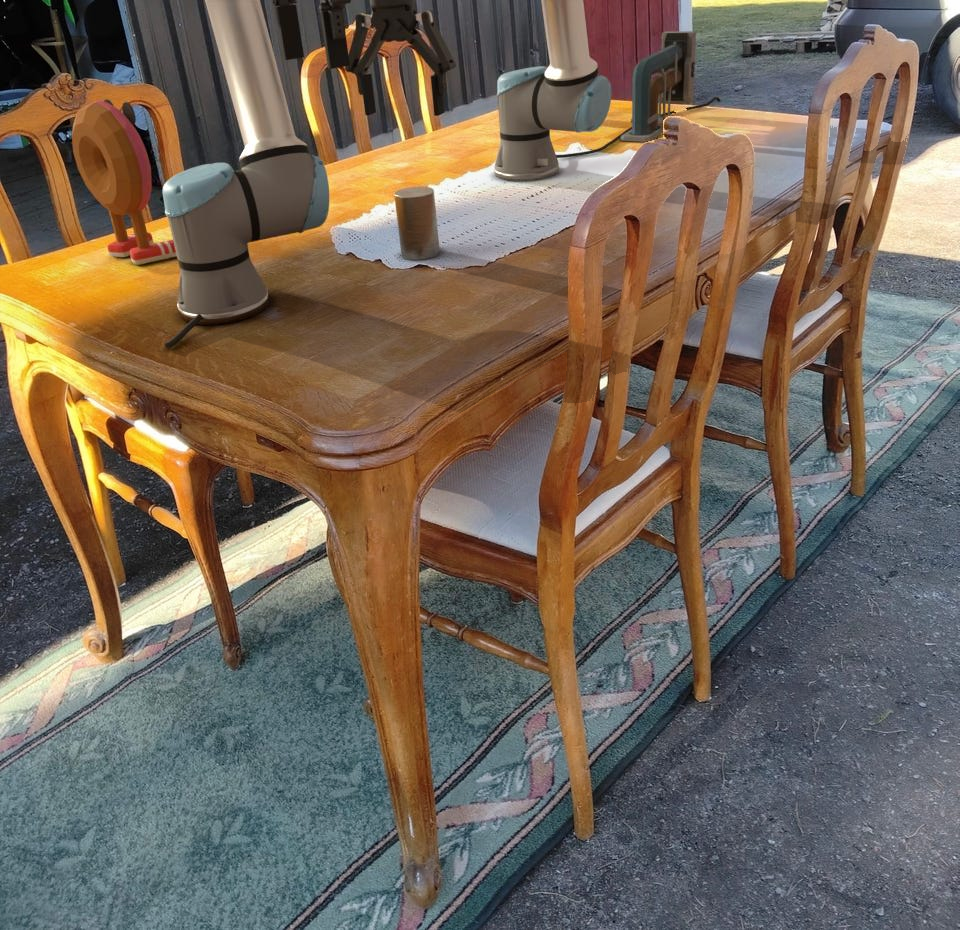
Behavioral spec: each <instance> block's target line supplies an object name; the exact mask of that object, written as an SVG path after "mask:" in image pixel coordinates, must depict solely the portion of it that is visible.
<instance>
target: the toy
mask: <svg viewBox="0 0 960 930" xmlns="http://www.w3.org/2000/svg"><path fill="white" fill-rule="evenodd" d="M121 109H122V111H121V110H120V109H118V108H117V107H115V106H114V104H113V103H112V101H111V100H110V99H108V98H106V99H104V100H100V99H97V100H95V101H93V102H91V103H88V104H86V105H85V106H83V107H81V108H80V109H78V110H77V111H76V114H75V116H74V117H75V118H74V120H73V124H72V130H71V140H72V142H71V143H72V152H73V156H74V160H75V163H76V167H77V170H78V172H79V174H80V176H81V178H82V181H83V182H84V184H85V186H86V188H87V189H88V191H89V192H90V193H91V195H92V196H93V197H94V198H95V199H96V201H97V202H99V203H100V205H101V206H102V207H103V208H105V209H107V211H108V214H109V217H110V221H111V225H112V228H113V233H114V236H115V239H116V240H114V241H112V242H110V243H108V245H107V251H108V255H109V256H110V257H113V258H127V257H129V256H130V260H131V262H132V263H133V264H135V266H137V265H144V264H150V263H154V262H159V261H162V260H163V261H164V260H167V259H172V258H177V254H176V250H175V246H174V241H173V239H170V240H165V241H160V242H156V243H154V237H153V235H152V233H151V232H148V231H147V226H146V225H147V224H146V222H145V218H144V214H143V212H142V211H143V210H144V209H145V208H146V206H147V205H148V203H149V201H150V198H151V194H152V189H153V188H152V168H151V163H150V159H149V155H148V152H147V150H146V146H145V144H144V142H143V140H142V137H141V136H140V134H139V132H138V131H137V129H136V127H135V126H134V125H135V124H136V120H137V119H136V113H135V110H134V108H133V106H132V104H131V103H130V102H128V101H125V102H123V103H122V107H121ZM127 215H128V216H129V218H130V221H131V226H132V230H133V232H132V233H130V234H128V232H127V227H126V223H125V218H124V216H127Z"/></svg>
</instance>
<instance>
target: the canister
mask: <svg viewBox="0 0 960 930" xmlns="http://www.w3.org/2000/svg"><path fill="white" fill-rule="evenodd" d="M393 196H394V204H395V212H396V222H397V229H398V238H399V247H400V253H401V254H400V255H401V257H402V258H403V259H405V260H408V261H422V260H423V261H424V260H428V259H433V258H435V257H437V256H438V255H440V253H441V250H440V239H439V229H438V218H437V208H436V198H435V190H434V188H432V187H429V186H421V185H420V186H409V187H404V188H400V189H398V190H396V191H394V193H393Z"/></svg>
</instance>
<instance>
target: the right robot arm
mask: <svg viewBox="0 0 960 930" xmlns="http://www.w3.org/2000/svg"><path fill="white" fill-rule="evenodd" d="M540 3H541V10H542V17H543V22H544V30H545V31H544V32H545V37H546V44H547V45H546V46H547V52H548V59H549V65H548V66H545V65H540V66H539V65H538V66H531V67H526V68H525V67H524V68H520V69H516V70H512V71H508V72H505V73H503V74H501V75H500V76H499V77H498V79H497V86H496V87H497V88H496V89H497V91H496V92H497V93H496V97H497V108H498V123H499V136H500V139H499V140H500V141H499V146H498V151H497V153H496V158H495V163H494V176H495V177H496V178H498V179H500V180H504V181H513V182H527V181H537V180H542V179H547V178H550V177H553V176H555V175H556V174H558V173H559V171H560V163H559V159H564V158H565V159H566V158H573V157H580V156H586V155H591V154H595V153H598V152H602V151H604V150H606V149H607V148H608V147H610V146H611V145H613V144H614V143H616V142H617V141H618V140H620V138H621V136H622V135H623V134H625V133H626V132H628V131H630V130H631V129H632V126H630V127H628V128H627V129H626V130H624V131H623V132H622V133H620V134H619V135H618V136H615V137H614V138H613V139H612V140H610V141H609V142H607V143H605V144H604V145H603V146H601V147H599V148H596V149H592V150H585V151H580V152H573V153H565V154H556V151H555V148H554V145H553V142H552V140H551V131H563V132H572V133H573V132H575V133H578V134H579V133H593V132H595V131H597V130H598V129H599V128H600V127H601V126H602V125H603V123H605V120H606V119H607V117H608V113H609V111H610V107H611V102H612V84H611V82H610V80H609V79H608V78H607V77H606V76H604V75H602V74H601V75H600V74H599V66H598V62H597V61H595V60H594V59H593V58H592V57H590V50H589V40H588V31H587V23H586V22H587V21H586V14H585V5H584V0H540ZM369 5H370V7H371V14H368V13H367V12H361V13H358V14H356V15H355V16H354V17H355V18H354V19H355V22H354V23H355V30H354V34H353V37H352V41H351V44H350V48H349V50H348V55H349V63H350V66H345V67H344V70H345V72H347V73H351V74H354V75H355V78H356V83H357V91H358V95H360V96H362V101H363V108H364V115H365V116H371V115H373V114H376V113H377V107H376V101H375V92H374V84H373V83H374V82H373V75H372V73H369V69H370V67H371V65H372V64H373V62H374V61H375V59H376V57H377V55H378V53H379V51H380V50H381V48H382V47H383V45H384V43H391V42H398V43H401V42H407V43H408V44H409V45H411V46H412V47H413V48H414V50H415V51H416V52H417V53H418V55H419V56H420V58H422V60H423V61H424V62H425V63H426V65H427V66H428V67H429V69H431V71H432V72H433V73H434V74H432V75H430V85H431V94H432V95H431V96H432V107H433V116H434V117H440V116H441V115H444V114H445V102H444V100H445V99H444V95H445V94H447V92H448V85H447V73H448V72H449V71H452V70H454V69H455V68H456V67H457V66H456V65H457V63H456V62H455V58H454V57H453V55H452V53H451V52H450V49H449V47H448V46H447V44H446V42H445V39H444V37H443V36H442V34H441V32H440V30H439V28H438V26H437V24H436V17H435V13H434V11H433V10H431V9H428V10H425V11H422V12H417V10H416V0H369ZM418 23H419V25H420V26H421V27H422V28H423V30H424V32H425V35H426V37H427V39H428V41H429V43H430V45H431V46H432V48H431V46H430V45H429V44H428V43H427V42H426V40H425V39H424V38H423V35H422V34H421V32H420V31H419V30H418V28H417V27H416V26H417V25H418ZM371 25H372V27H374V29H375V32H374V33H373V35H372V36H371V41H370V43H369V44H368V46H367V48H366V50H365V52H364V53H363V50H364V46H365V44H366V43H365V42H366V40H367V36H368V32H369V28H370V27H371ZM433 50H434V51H433ZM362 54H363V55H362ZM715 101H717V102H718V103H720V102H722V100H721V99H720V97H718V96H713V97H712V98H711V99H710V100H709V101H707V102H706V103H702V104H698V105H693V106H687V107H685V108H686V109H687V111H691V110H695V109H696V110H697V109H700V108H705V107H709V105H711V104H712V103H713V102H715ZM674 111H675V110H670V115H673V114H672V113H674V114H677V113H676V112H674ZM667 115H668V111H666V112H665V117H667ZM661 117H663V113H661Z"/></svg>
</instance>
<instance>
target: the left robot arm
mask: <svg viewBox="0 0 960 930" xmlns="http://www.w3.org/2000/svg"><path fill="white" fill-rule="evenodd" d="M204 1H205V5H206V9H207V13H208V16H209V20H210V24H211V27H212V31H213V35H214V39H215V42H216V46H217V50H218V53H219V58H220V61H221V64H222V68H223V71H224V75H225V79H226V83H227V86H228V90H229V93H230V97H231V98H230V99H231V101H232V104H233V105H232V106H233V109H234V112H235V115H236V119H237V124H238V128H239V131H240V134H241V139H242V141H243V145H244V149H243V151H242V153H241V154H240V156H239V158H238V161H239V165H240V169H238V170H234V168H233V167H232V165H231V164H229V163H227V162H214V163H206V164H201V165H197V166H193V167H190V168H188V169H184V170H182V171H180V172H178V173H176V174H174V175H173V176H171V177H170V178H169V179H167V180H166V181H165V183H164V185H163V187H162V198H163V203H164V204H163V205H164V214H165V216H166V217H167V220H168V224H169V229H170V232H171V237H172V240H173V241H174V246H175V250H176V254H177V257H176V258H177V262H178V266H179V283H178V294H177V310H178V314H179V318H180V319H182V320H183V321H184V322H186V323H187V324H185V326H184V327H183V328H182V329H181V330H180V331H178V333H177V334H176V335H175V336H174V337H172V338H171V339H170V340H168V341H167V342H165V344H164V346H165V348H166V349H171V348H173V347H174V346H175V345H177V344H178V343H179V342H180V341H181V340H182V339H183V338H184V337H186V335H187V334H189V332H190V331H191V330H193V328H194V327H195V326H197V325H202V326H203V325H204V326H205V325H206V326H210V325H222V324H230V323H233V322H239V321H241V320H245V319H248V318H251V317H253V316H256V315H258V314H260V312H263V311H264V310H265V309H266V308H267V307H268V306H269V305H270V296H269V291H268V288H267V287H266V284H265V283H264V282H263V280H262V278H261V276H260V274H259V272H258V270H257V269H256V267H255V265H254V264H253V262H252V260H251V257H250V251H249V245H248V244H249V243H254V242H259V241H262V240H267V239H272V238H277V237H282V236H287V235H288V236H289V235H293V234H297V233H298V234H302V233H304V232H306V231H309V230H313V229H317V228H320V227H322V226H323V225H324V223H325V222H326V221H327V219H328V215H329V210H330V186H329V178H328V173H327V169H326V167H325V165H324V161H323V159H322V158H321V157H320V156H317V155H311V154H310V151H309V147H308V143H305V142H304V141H303V140H301V139H299V138H298V136H296V133H295V129H294V125H293V121H292V119H291V113H290V110H289V107H288V103H287V99H286V94H285V91H284V87H283V82H282V79H281V76H280V72H279V69H278V64H277V60H276V57H275V52H274V49H273V45H272V41H271V37H270V34H269V31H268V30H269V29H268V27H267V23H266V19H265V15H264V11H263V7H262V3H261V0H204ZM319 2H320V3H319V6H318V8H317V10H318V12H319V14H320V23H321V29H322V36H323V42H324V43H323V44H324V50H325V56H326V63H327V68H328V69H330V70H332V69H338V68H345V66H350V63H349V47H348V41H347V34H346V27H345V26H346V25H345V19H344V18H345V17H344V11H343V9H345V7H346V5H349V4H351V2H352V0H319ZM297 3H298V1H297V0H271V4H272V5H273V7H274V9H275V16H276V21H277V28H278V34H279V40H280V46H281V51H282V57H283V60H284V61H290V60H296V59H303V58H305V54H304V47H303V41H302V40H303V39H302V33H301V28H300V27H301V26H300V21H299V15H298V8H297Z"/></svg>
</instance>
